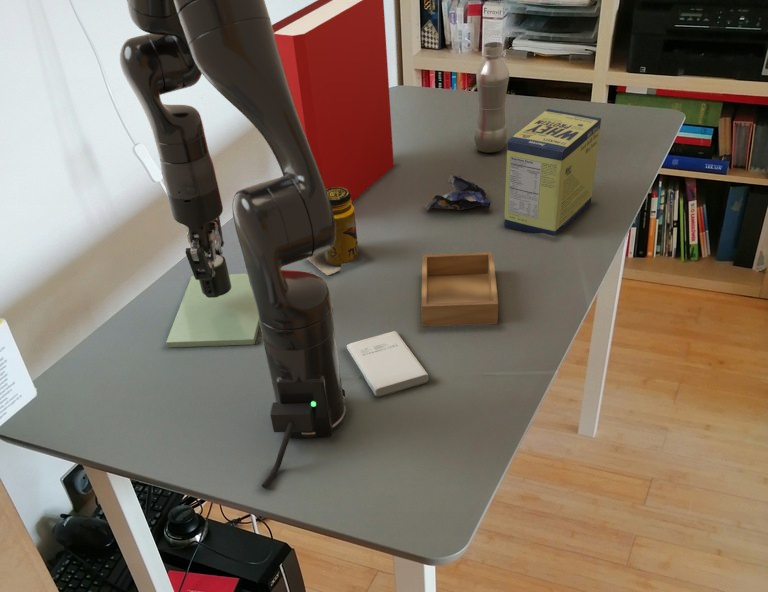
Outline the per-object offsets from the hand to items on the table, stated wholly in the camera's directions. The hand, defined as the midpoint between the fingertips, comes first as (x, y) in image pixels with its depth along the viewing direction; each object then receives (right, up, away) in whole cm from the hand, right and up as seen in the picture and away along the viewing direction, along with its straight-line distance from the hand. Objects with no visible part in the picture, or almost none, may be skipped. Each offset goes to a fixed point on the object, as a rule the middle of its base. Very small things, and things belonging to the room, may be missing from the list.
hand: (216, 286), depth 132 cm
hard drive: (+28, -15, -11) cm, 33 cm away
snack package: (+42, +21, +23) cm, 52 cm away
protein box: (+57, +18, +18) cm, 63 cm away
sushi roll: (0, 0, 0) cm, 0 cm away
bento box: (+39, -2, 0) cm, 39 cm away
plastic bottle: (+50, +40, +40) cm, 75 cm away
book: (+19, +27, +31) cm, 46 cm away
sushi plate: (0, -3, +3) cm, 4 cm away
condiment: (+19, +8, +12) cm, 24 cm away
